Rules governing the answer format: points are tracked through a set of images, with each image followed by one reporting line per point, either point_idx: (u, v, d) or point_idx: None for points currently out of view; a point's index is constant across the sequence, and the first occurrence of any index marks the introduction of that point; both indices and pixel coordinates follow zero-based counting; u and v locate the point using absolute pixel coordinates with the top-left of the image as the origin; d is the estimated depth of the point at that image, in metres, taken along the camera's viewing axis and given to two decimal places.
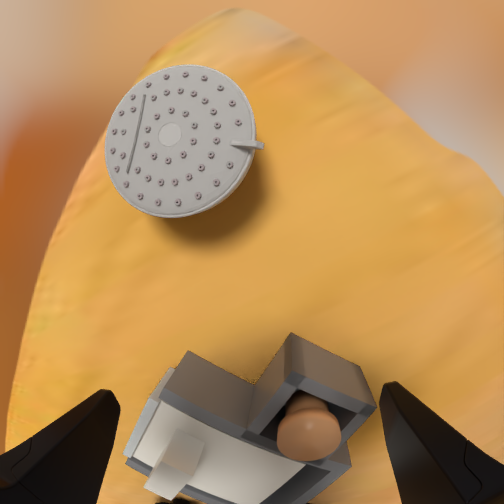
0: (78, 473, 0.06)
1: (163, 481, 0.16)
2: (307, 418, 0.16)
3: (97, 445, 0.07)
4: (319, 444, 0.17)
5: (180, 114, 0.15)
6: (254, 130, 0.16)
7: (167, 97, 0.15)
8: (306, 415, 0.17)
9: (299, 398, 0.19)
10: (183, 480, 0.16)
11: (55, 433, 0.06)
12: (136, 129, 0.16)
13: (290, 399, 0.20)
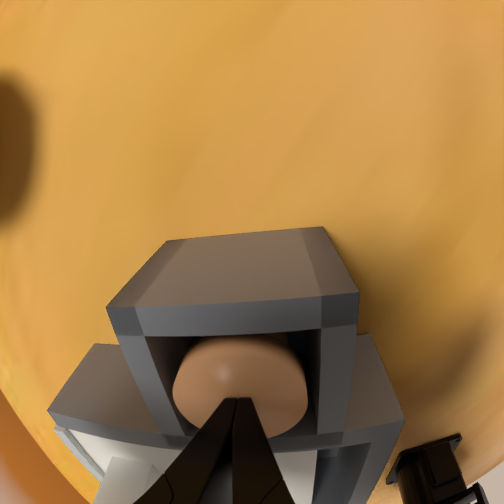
0: (221, 502, 0.06)
1: None
2: (189, 364, 0.08)
3: None
4: (264, 403, 0.08)
5: None
6: None
7: None
8: (188, 358, 0.08)
9: None
10: None
11: (198, 462, 0.06)
12: None
13: None
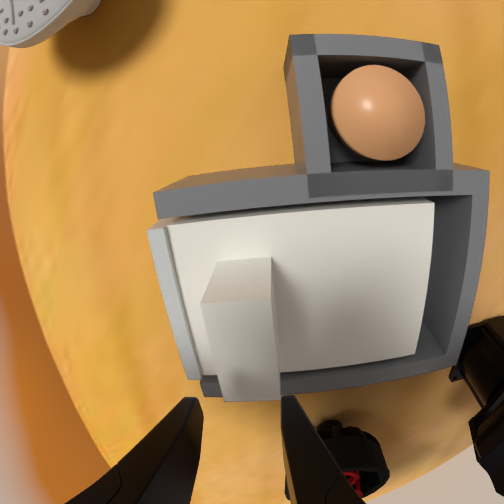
0: (173, 496, 0.06)
1: (238, 358, 0.11)
2: (349, 75, 0.10)
3: (188, 461, 0.07)
4: (399, 111, 0.11)
5: None
6: None
7: None
8: (346, 75, 0.11)
9: None
10: (264, 326, 0.10)
11: (148, 456, 0.06)
12: None
13: (329, 112, 0.14)
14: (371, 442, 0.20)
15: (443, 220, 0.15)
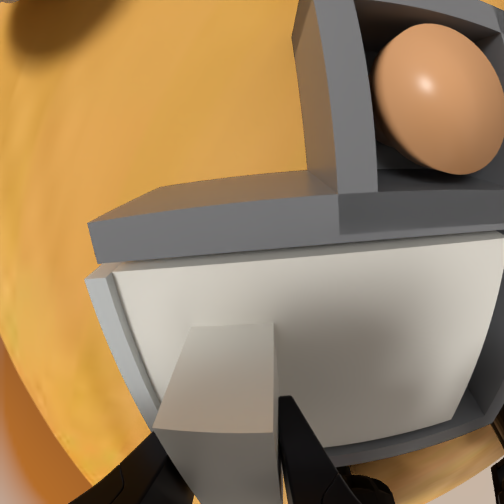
0: (176, 497, 0.06)
1: (221, 483, 0.06)
2: (403, 34, 0.05)
3: None
4: (475, 99, 0.06)
5: None
6: None
7: None
8: (397, 36, 0.06)
9: None
10: (260, 459, 0.05)
11: (151, 456, 0.06)
12: None
13: None
14: (383, 494, 0.15)
15: None
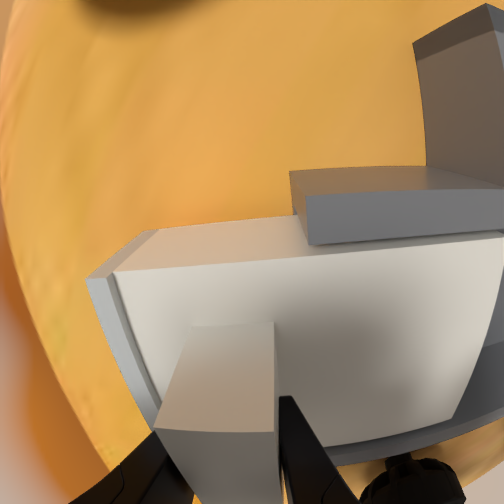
0: (176, 497, 0.06)
1: (222, 483, 0.06)
2: None
3: None
4: None
5: None
6: None
7: None
8: None
9: None
10: (261, 458, 0.05)
11: (151, 456, 0.06)
12: None
13: None
14: (451, 473, 0.14)
15: None
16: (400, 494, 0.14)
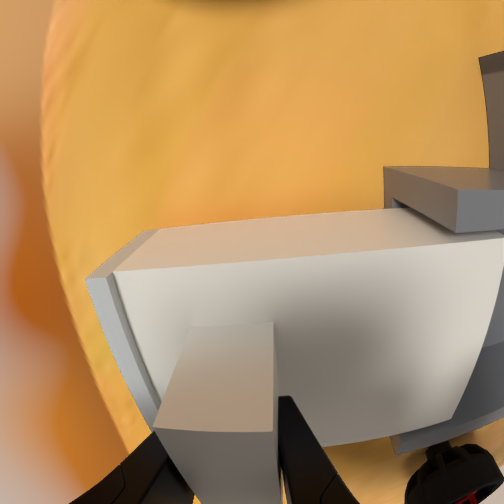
0: (176, 497, 0.06)
1: (221, 483, 0.06)
2: None
3: None
4: None
5: None
6: None
7: None
8: None
9: None
10: (260, 458, 0.05)
11: (151, 456, 0.06)
12: None
13: None
14: (491, 456, 0.14)
15: None
16: (450, 478, 0.13)
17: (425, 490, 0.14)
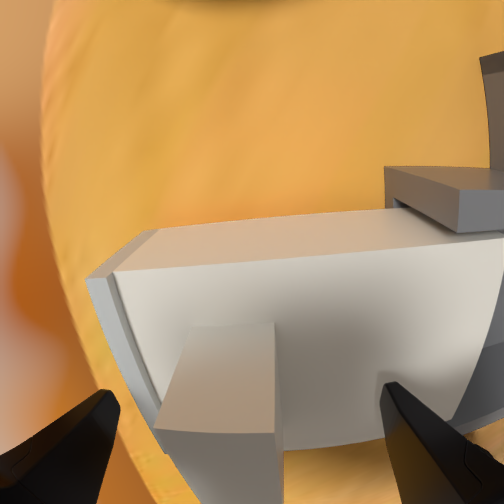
0: (78, 473, 0.06)
1: (222, 484, 0.06)
2: None
3: (97, 445, 0.07)
4: None
5: None
6: None
7: None
8: None
9: None
10: (261, 459, 0.05)
11: (55, 433, 0.06)
12: None
13: None
14: (491, 456, 0.14)
15: None
16: None
17: None
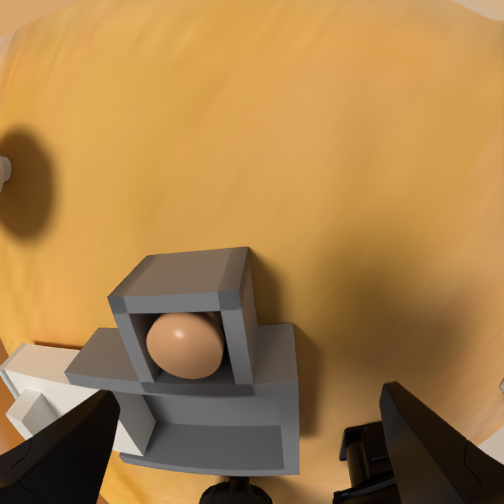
0: (78, 473, 0.06)
1: (26, 436, 0.17)
2: (155, 325, 0.15)
3: (97, 445, 0.07)
4: (196, 351, 0.15)
5: None
6: None
7: None
8: (155, 322, 0.15)
9: None
10: (25, 428, 0.16)
11: (55, 433, 0.06)
12: None
13: None
14: (257, 499, 0.24)
15: None
16: (212, 500, 0.24)
17: (201, 501, 0.25)
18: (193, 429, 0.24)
